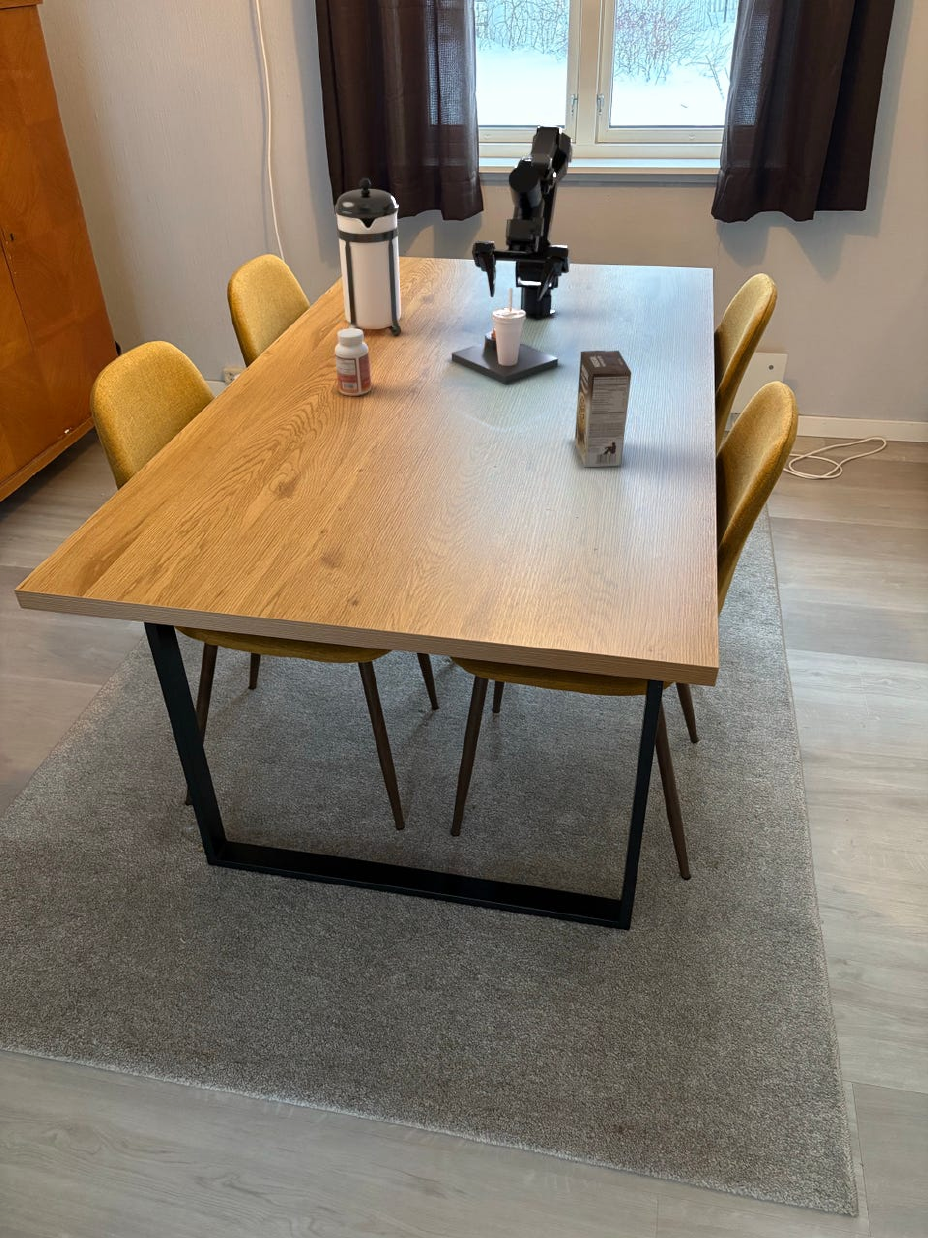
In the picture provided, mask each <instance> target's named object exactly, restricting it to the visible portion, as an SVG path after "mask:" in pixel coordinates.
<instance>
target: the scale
mask: <svg viewBox="0 0 928 1238" xmlns="http://www.w3.org/2000/svg"><path fill="white" fill-rule="evenodd" d="M451 362H454V363H456V364H458V365H461V366H462V367H464V368H467V369H470V370H471V371H473V372H476V373H478V374H481V375H483V376H484V377H487V378H489V379H492V380H493V381H496V382H498V383H500V384H502V385H505V386H507V385H509V384H512V383H515V382H518V381H520V380H523V379H526V378H529V377H532V376H534V375H538V374H540V373H543V372H545V371H549V370H551V369H554V368H556V367H558V364H559V358H558V357H556V356H553V355H551V354H548V353H546V352H543V351H541V350H538V349H535V348H533V347H531V346H529V345H525V344H524V343H521V342H520V348H519V354H518V360H517V363H516V364H515V365H511V366H505V365H501V364H499V363H498V354H497V345H496V338H493V329H491V330H489V331H487V332H486V333H485V334H484V342H481V343H479V344H476V345H472V346H469V347H466V348H464V349H460V350H457V351H454V352H451Z"/></svg>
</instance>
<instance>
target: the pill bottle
mask: <svg viewBox="0 0 928 1238" xmlns="http://www.w3.org/2000/svg"><path fill="white" fill-rule="evenodd" d="M364 339H365V337H364V331H363V329H356V328H355V327H354V328H349V327H348V328H347V327H346V328H342V329H340V330H338V332H337V344H336V345H335V347H334V356H335V366H336V367H335V368H336V377H337V387H338V392H339V393H341V394H343V395H344V396H348V397H349V396H350V397H357V396H362V395H365V394H367V393H368V392H370V391H371V389H372V377H371V367H370V365H371V364H370V352H369V351H370V350H369V346H368V344H366V343H365V341H364Z"/></svg>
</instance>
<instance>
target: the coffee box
mask: <svg viewBox="0 0 928 1238" xmlns="http://www.w3.org/2000/svg"><path fill="white" fill-rule="evenodd" d="M578 375H579V376H578V391H577V404H576V405H577V406H576V416H575V434H574V436H575V437H574V444H575V447H576V449H577V452H578V455H579V457H580V459H581V462H582V465H583V467H584V468H601V467H621V465H622V459H623V450H624V440H625V433H626V424H627V416H628V409H629V400H630V399H629V398H630V392H631V391H630V390H631V381H632V371H631V370H630V367H629V366H628V364H627V362H626V360H625V359H624V356H622V353H621V352H620V351H619V350H609V351H608V350H585V351H580V360H579V373H578Z"/></svg>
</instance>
